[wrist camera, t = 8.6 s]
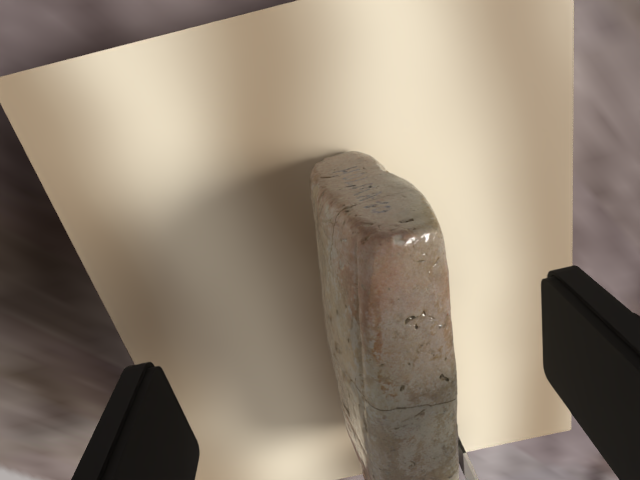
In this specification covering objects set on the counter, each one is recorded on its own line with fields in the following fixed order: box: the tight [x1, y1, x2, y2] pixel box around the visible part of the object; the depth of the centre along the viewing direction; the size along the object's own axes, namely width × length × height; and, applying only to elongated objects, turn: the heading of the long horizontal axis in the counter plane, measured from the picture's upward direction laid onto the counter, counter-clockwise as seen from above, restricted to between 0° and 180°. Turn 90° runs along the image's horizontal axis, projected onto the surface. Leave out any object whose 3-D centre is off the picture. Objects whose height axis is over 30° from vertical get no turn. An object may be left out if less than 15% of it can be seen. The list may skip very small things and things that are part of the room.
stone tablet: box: [309, 151, 479, 480], centre depth 12 cm, size 6×4×12 cm
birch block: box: [0, 0, 574, 480], centre depth 16 cm, size 14×16×4 cm
